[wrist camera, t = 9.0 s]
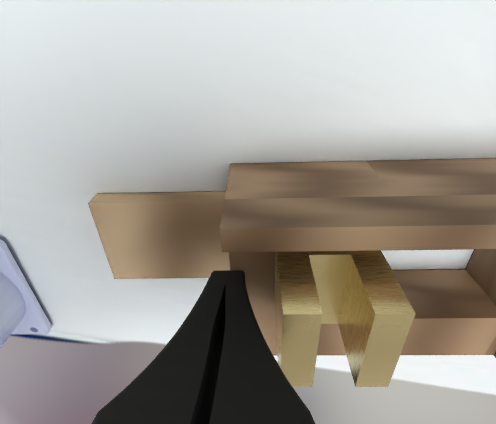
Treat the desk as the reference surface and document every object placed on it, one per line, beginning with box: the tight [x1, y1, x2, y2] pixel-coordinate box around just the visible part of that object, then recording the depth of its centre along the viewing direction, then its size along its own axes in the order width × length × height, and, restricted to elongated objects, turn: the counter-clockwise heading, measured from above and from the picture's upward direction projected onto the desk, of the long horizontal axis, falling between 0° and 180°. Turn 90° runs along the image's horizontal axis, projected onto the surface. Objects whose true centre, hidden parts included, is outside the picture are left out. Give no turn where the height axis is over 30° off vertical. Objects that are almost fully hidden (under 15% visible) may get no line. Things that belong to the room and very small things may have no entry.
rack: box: [88, 158, 496, 357], centre depth 15 cm, size 22×10×6 cm, turn 92°
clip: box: [274, 250, 416, 387], centre depth 12 cm, size 4×4×4 cm
